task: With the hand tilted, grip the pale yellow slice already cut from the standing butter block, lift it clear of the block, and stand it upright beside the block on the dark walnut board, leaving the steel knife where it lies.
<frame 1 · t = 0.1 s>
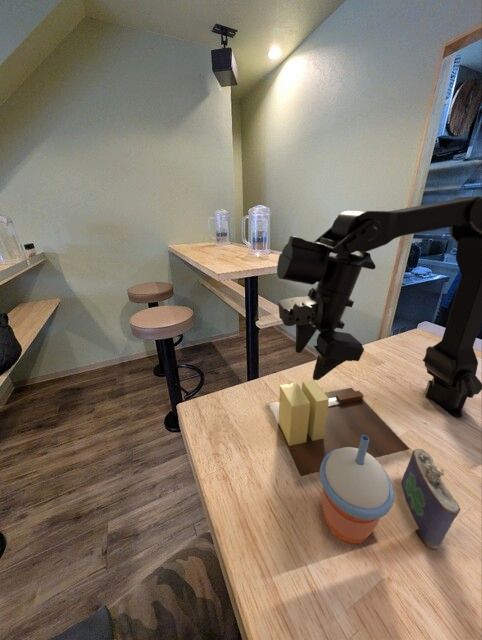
hand: (305, 364, 49), 15 cm above the table, tool pointing down, fingers open, 9 cm apart
board: (330, 428, 54), on the table
cup with straw: (344, 523, 38), on the table
knife: (332, 402, 59), point 1 cm above the table, touching board
flask: (415, 514, 39), on the table
butter block: (291, 431, 51), point 1 cm above the table, touching board
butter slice: (310, 427, 52), point 1 cm above the table, touching board
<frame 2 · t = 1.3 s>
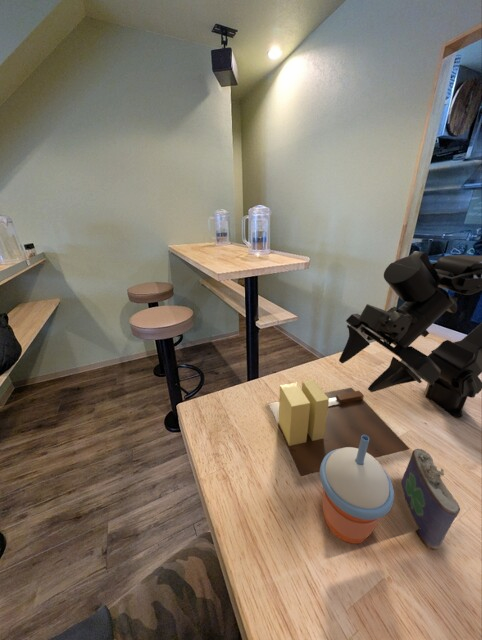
hand: (353, 375, 49), 13 cm above the table, tool tilted 45°, fingers open, 9 cm apart
nothing on the table moved.
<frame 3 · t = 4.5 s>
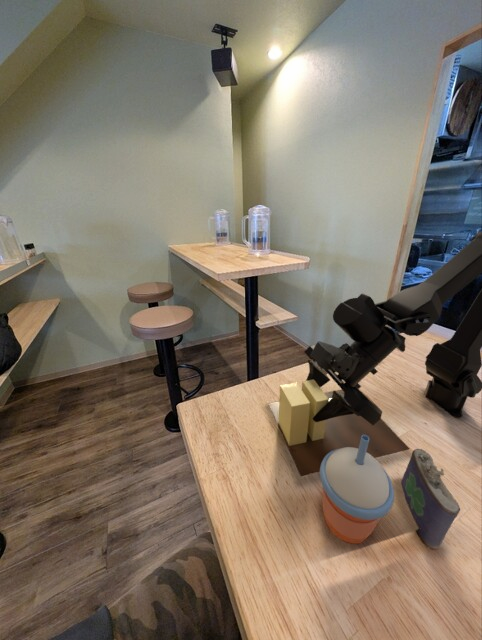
hand: (306, 408, 50), 7 cm above the table, tool tilted 45°, fingers closed on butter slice, 6 cm apart
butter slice: (310, 427, 52), point 2 cm above the table, touching board, gripper
everything else where it was.
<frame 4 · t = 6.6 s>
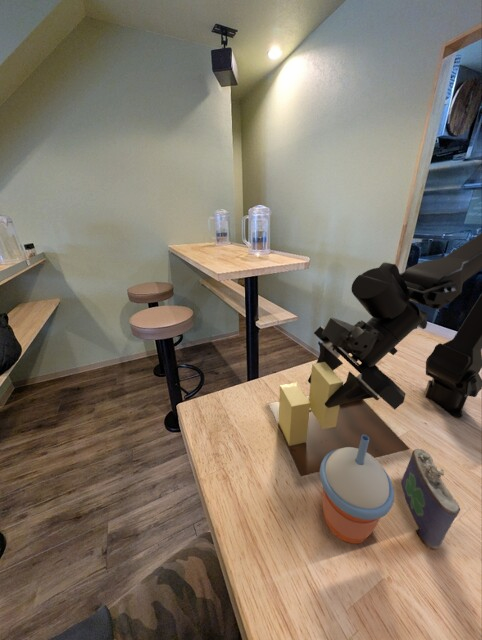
hand: (317, 393, 45), 13 cm above the table, tool tilted 45°, fingers closed on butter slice, 6 cm apart
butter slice: (321, 415, 47), point 7 cm above the table, touching gripper
everything else where it was.
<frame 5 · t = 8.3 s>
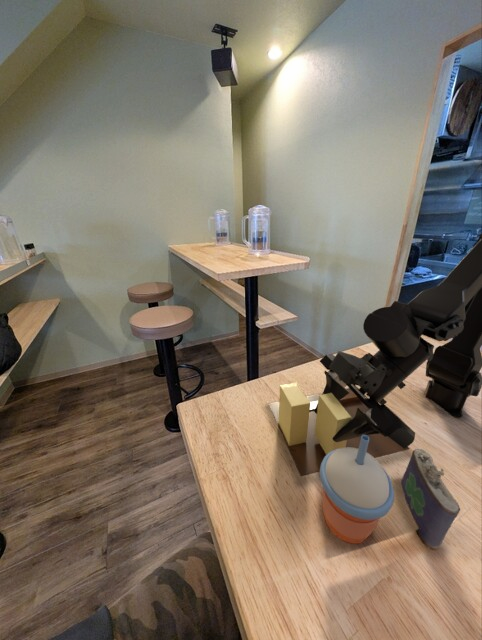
hand: (324, 425, 44), 8 cm above the table, tool tilted 45°, fingers closed on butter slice, 6 cm apart
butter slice: (328, 446, 47), point 3 cm above the table, touching gripper
everything else where it was.
when the fingers open (7 cm above the table, at t = 9.1 s): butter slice stays where it is, resting on board.
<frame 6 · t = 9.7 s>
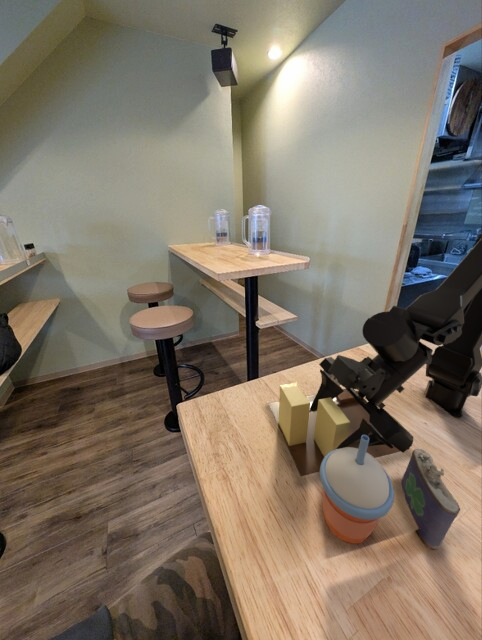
hand: (323, 428, 45), 7 cm above the table, tool tilted 45°, fingers open, 9 cm apart
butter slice: (327, 450, 47), point 1 cm above the table, touching board
everything else where it was.
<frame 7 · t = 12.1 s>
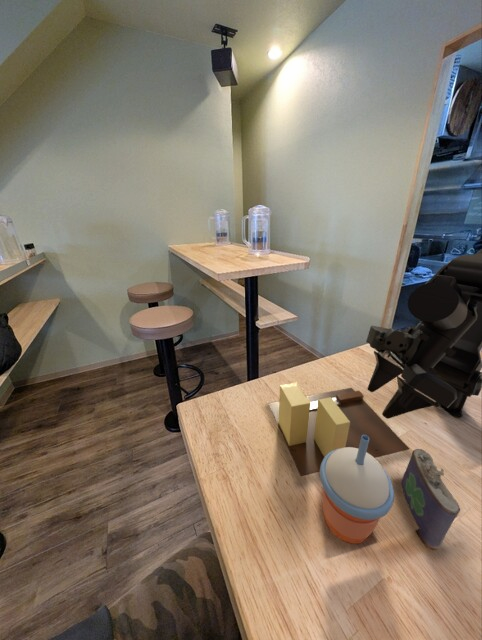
hand: (376, 402, 46), 11 cm above the table, tool tilted 30°, fingers open, 9 cm apart
nothing on the table moved.
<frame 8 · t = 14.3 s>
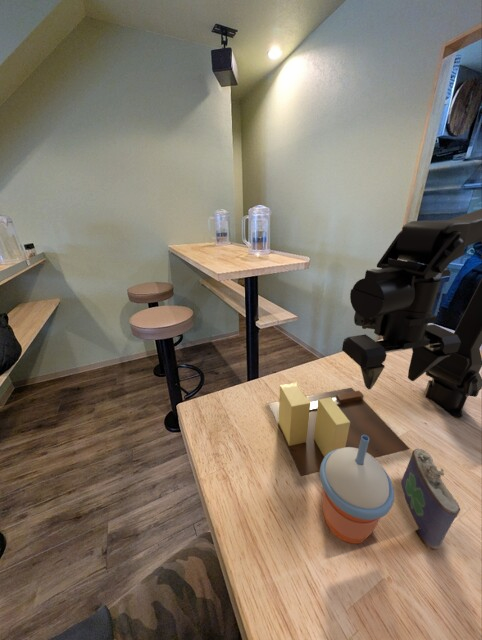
hand: (389, 383, 47), 13 cm above the table, tool pointing down, fingers open, 9 cm apart
nothing on the table moved.
at the end: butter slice 0.1 cm from the target spot, point 1.5 cm above the table; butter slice tilted 0°; butter block moved 0.0 cm from its start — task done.
